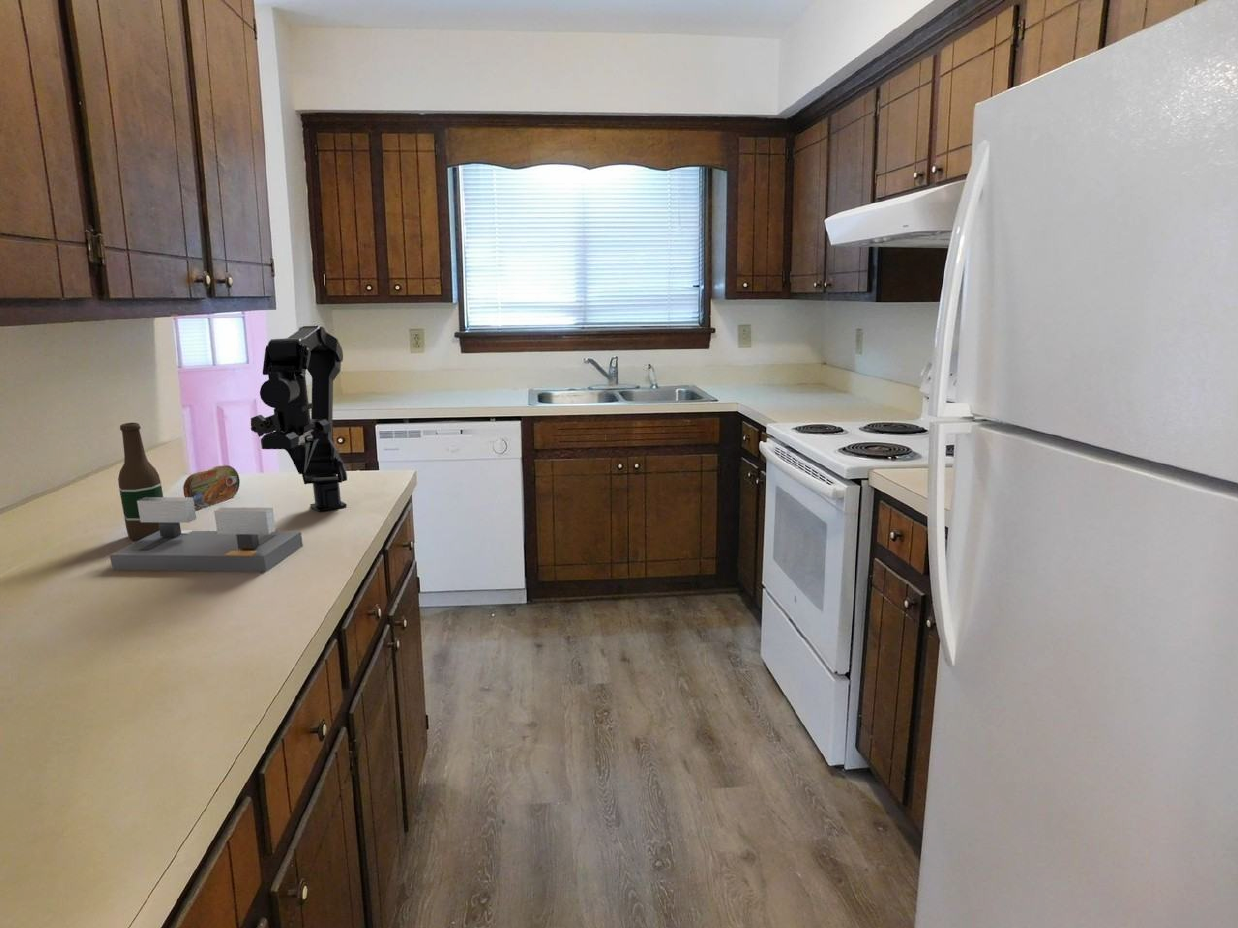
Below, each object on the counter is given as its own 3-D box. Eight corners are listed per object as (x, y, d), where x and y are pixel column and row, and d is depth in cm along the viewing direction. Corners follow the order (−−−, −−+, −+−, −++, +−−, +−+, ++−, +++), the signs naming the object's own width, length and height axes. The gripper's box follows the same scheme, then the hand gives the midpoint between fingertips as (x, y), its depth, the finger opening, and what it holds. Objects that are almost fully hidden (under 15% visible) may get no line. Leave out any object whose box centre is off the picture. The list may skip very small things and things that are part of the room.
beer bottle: (119, 538, 166) (98, 425, 160) (155, 527, 172) (136, 419, 167) (141, 543, 162) (121, 428, 156) (177, 532, 169) (159, 421, 163)
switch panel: (161, 544, 161) (158, 529, 160) (302, 545, 158) (300, 530, 157) (112, 569, 147) (109, 553, 147) (266, 571, 145) (263, 555, 144)
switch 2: (227, 545, 150) (221, 507, 148) (277, 545, 149) (272, 507, 147) (219, 549, 147) (214, 511, 146) (271, 549, 146) (265, 511, 145)
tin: (194, 511, 184) (188, 476, 182) (183, 511, 185) (178, 476, 183) (242, 494, 198) (238, 461, 196) (232, 493, 199) (227, 461, 197)
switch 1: (151, 532, 158) (145, 497, 156) (198, 533, 157) (193, 497, 155) (143, 536, 156) (136, 500, 154) (191, 537, 155) (185, 500, 153)
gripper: (279, 393, 173) (287, 463, 177) (230, 408, 155) (241, 485, 158) (328, 393, 172) (335, 463, 175) (284, 407, 154) (294, 485, 157)
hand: (302, 473), depth 167 cm, fingers closed
